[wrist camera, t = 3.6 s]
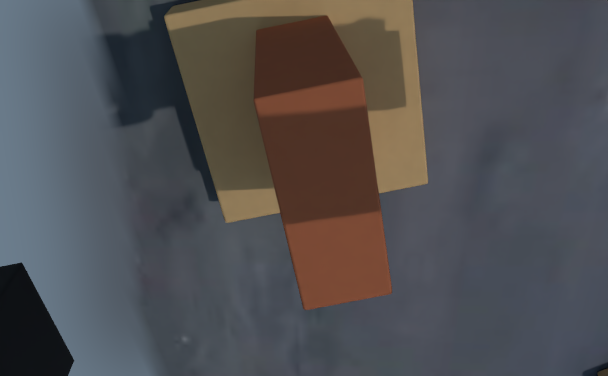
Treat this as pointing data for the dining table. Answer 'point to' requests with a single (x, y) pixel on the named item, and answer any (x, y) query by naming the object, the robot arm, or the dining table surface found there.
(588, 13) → the dining table surface
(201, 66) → the open box
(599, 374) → the base pad
